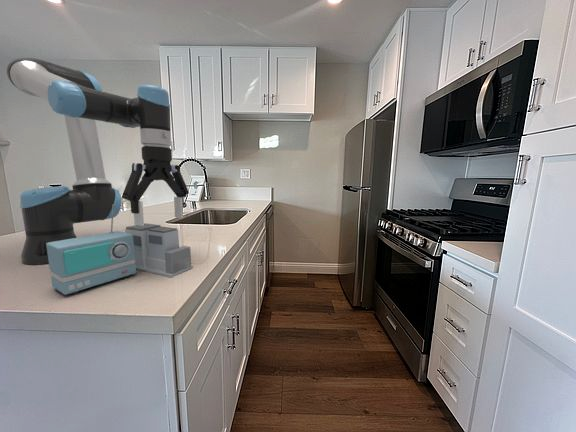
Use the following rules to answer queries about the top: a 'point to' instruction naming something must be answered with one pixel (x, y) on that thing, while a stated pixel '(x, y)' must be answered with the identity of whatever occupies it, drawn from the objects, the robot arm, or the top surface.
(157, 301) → the top surface
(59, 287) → the radio
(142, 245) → the block
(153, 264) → the rail panel
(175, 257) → the block
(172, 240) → the block
